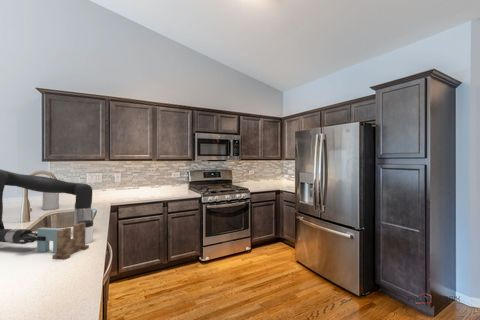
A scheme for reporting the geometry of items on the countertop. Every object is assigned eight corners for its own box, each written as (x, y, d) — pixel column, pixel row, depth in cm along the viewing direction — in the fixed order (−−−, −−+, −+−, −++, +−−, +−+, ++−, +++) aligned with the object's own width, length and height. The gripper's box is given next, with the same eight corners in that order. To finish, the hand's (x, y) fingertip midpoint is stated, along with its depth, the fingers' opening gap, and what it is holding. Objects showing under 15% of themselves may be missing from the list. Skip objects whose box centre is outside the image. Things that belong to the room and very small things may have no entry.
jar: (96, 239, 149) (96, 220, 149) (88, 244, 141) (88, 223, 141) (82, 239, 149) (82, 219, 149) (72, 243, 141) (73, 223, 141)
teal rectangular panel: (37, 251, 128) (37, 228, 128) (41, 249, 131) (41, 227, 131) (61, 252, 127) (61, 230, 127) (65, 251, 129) (65, 228, 129)
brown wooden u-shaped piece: (77, 247, 136) (77, 222, 136) (88, 247, 135) (89, 222, 135) (52, 258, 120) (52, 230, 120) (65, 259, 119) (65, 231, 119)
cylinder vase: (54, 210, 230) (55, 184, 230) (39, 210, 227) (40, 184, 227) (61, 207, 242) (61, 182, 242) (46, 207, 239) (47, 182, 239)
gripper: (5, 233, 124) (35, 234, 122) (31, 225, 138) (59, 227, 136) (4, 247, 124) (35, 249, 122) (31, 239, 138) (58, 240, 136)
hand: (47, 237), depth 129 cm, fingers closed on teal rectangular panel, 2 cm apart
